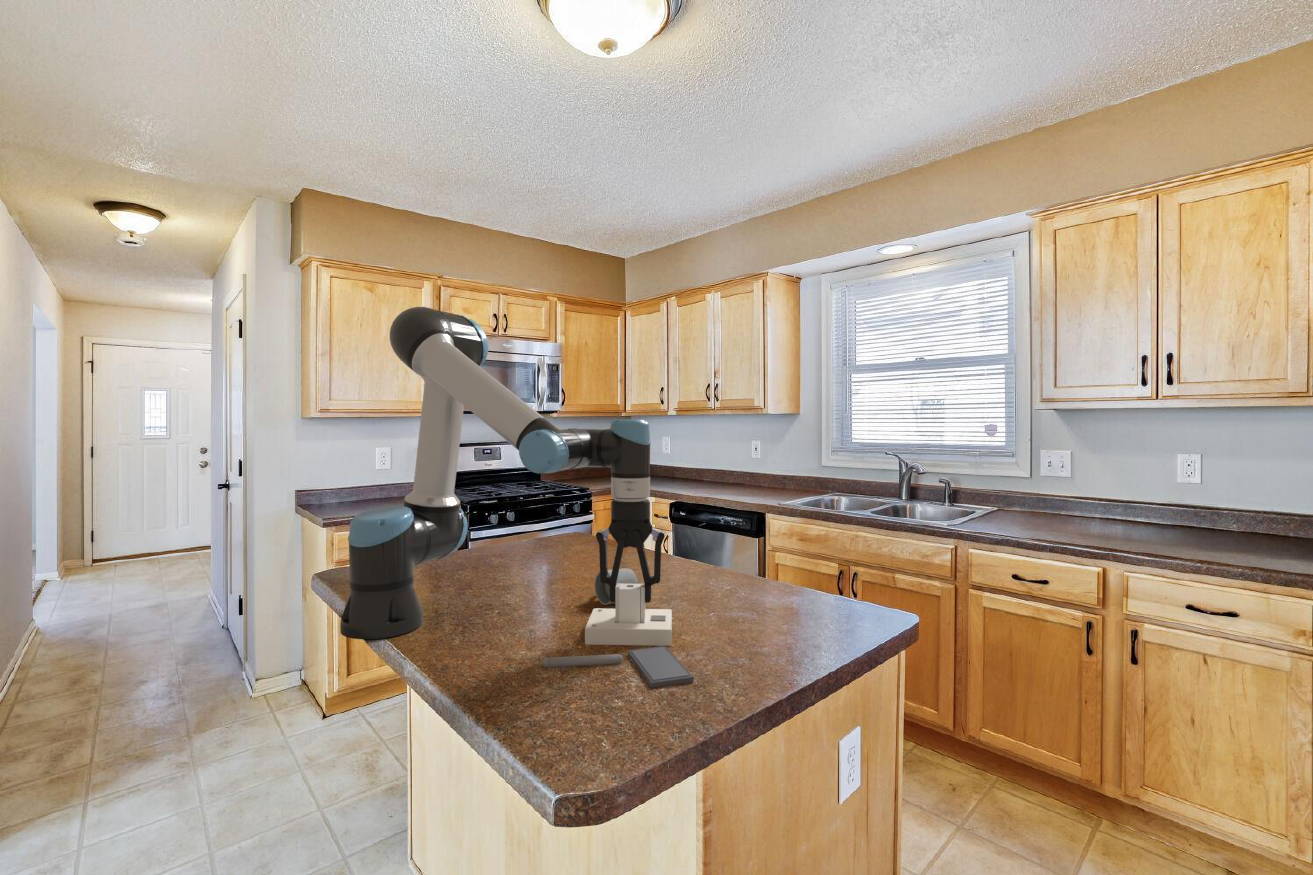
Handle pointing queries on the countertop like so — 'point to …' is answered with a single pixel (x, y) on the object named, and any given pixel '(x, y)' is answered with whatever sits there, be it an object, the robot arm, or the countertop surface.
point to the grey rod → (582, 660)
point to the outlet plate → (629, 629)
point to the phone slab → (660, 666)
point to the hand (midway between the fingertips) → (630, 618)
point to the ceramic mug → (623, 577)
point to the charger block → (630, 603)
